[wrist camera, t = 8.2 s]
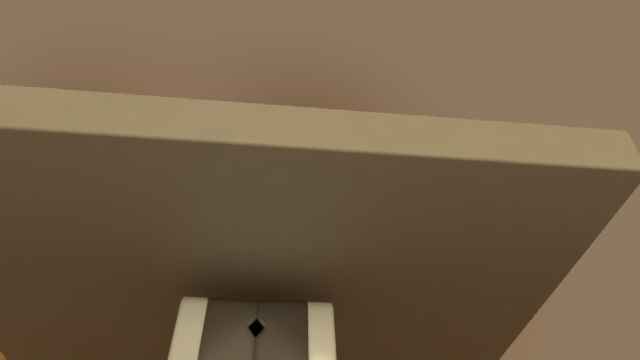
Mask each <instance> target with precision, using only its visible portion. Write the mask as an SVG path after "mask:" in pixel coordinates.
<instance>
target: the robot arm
mask: <svg viewBox="0 0 640 360" xmlns="http://www.w3.org/2000/svg"><path fill="white" fill-rule="evenodd" d="M168 360H337V356H336V340H335V325H334V309H333V305H332V303H324V302H306V301H280V300H258V301H254V300H239V299H224V298H207V297H188V296H184V297H183V299H182V301H181V303H180V307H179V311H178V316H177V320H176V324H175V329H174V333H173V338H172V342H171V346H170V351H169V355H168Z"/></svg>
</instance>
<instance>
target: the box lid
mask: <svg viewBox="0 0 640 360" xmlns="http://www.w3.org/2000/svg"><path fill="white" fill-rule="evenodd" d="M639 184H640V153H639V151H638V149H637V148H636V146H635V144H634V143H633V141H632V139H631V137H630V136H629V134H628V132H626V131H621V130H608V129H595V128H581V127H568V126H553V125H540V124H527V123H514V122H500V121H486V120H472V119H459V118H446V117H432V116H419V115H404V114H391V113H378V112H365V111H351V110H338V109H337V110H336V109H324V108H310V107H297V106H296V107H295V106H283V105H269V104H256V103H243V102H229V101H216V100H202V99H189V98H175V97H161V96H148V95H135V94H121V93H107V92H94V91H80V90H67V89H53V88H39V87H26V86H13V85H0V351H1V352H2V354H3V355H4V357H5V358H6V359H7V360H168V355H169V351H170V346H171V342H172V338H173V333H174V329H175V324H176V320H177V316H178V311H179V307H180V303H181V301H182V299H183V297H184V296H188V297H207V298H224V299H239V300H254V301H258V300H280V301H306V302H324V303H332V305H333V309H334V325H335V340H336V356H337V360H499V359H500V358H501V357H502V355H503V354H504V353H505V351H506V350H507V349H508V348H509V347H510V345H511V344H512V342H513V341H514V340H515V339H516V338H517V337H518V335H519V334H520V333H521V332H522V330H523V329H524V328H525V326H526V325H527V324H528V323H529V322H530V320H531V319H532V318H533V317H534V315H535V314H536V313H537V312H538V310H539V309H540V308H541V307H542V305H543V304H544V303H545V301H546V300H547V299H548V298H549V297H550V295H551V294H552V293H553V291H554V290H555V289H556V288H557V286H558V285H559V284H560V283H561V282H562V280H563V279H564V278H565V277H566V275H567V274H568V273H569V272H570V270H571V269H572V268H573V267H574V265H575V264H576V263H577V262H578V260H579V259H580V258H581V257H582V255H583V254H584V253H585V252H586V250H587V249H588V248H589V247H590V245H591V244H592V243H593V242H594V240H595V239H596V238H597V237H598V235H599V234H600V233H601V231H602V230H603V229H604V228H605V227H606V225H607V224H608V223H609V222H610V220H611V219H612V218H613V217H614V215H615V214H616V213H617V211H618V210H619V209H620V207H621V206H622V205H623V204H624V203H625V202H626V200H627V199H628V198H629V197H630V195H631V194H632V193H633V192H634V190H635V189H636V188H637V187H638V185H639Z"/></svg>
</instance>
